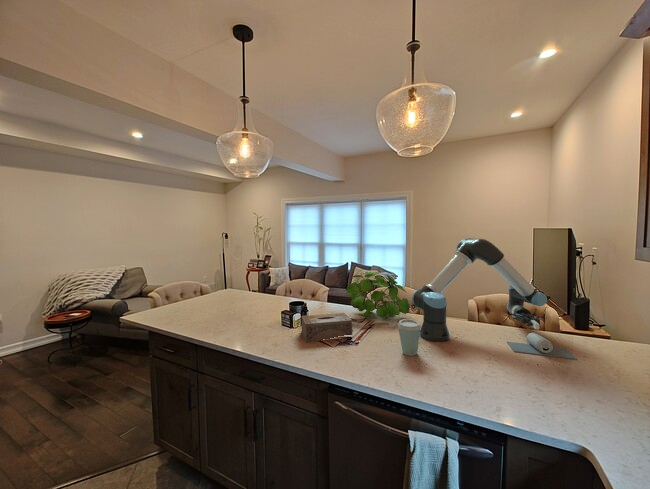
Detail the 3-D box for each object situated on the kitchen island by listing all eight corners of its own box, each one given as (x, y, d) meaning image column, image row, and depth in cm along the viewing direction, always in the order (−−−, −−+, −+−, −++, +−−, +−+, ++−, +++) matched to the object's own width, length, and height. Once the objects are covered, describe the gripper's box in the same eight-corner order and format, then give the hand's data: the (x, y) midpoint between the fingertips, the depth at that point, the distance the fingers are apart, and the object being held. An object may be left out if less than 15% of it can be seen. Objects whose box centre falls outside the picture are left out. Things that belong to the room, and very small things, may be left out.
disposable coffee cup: (422, 359, 122) (422, 326, 121) (398, 357, 124) (398, 324, 123) (419, 349, 132) (419, 319, 132) (396, 347, 134) (396, 317, 134)
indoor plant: (397, 296, 214) (406, 265, 199) (406, 337, 178) (419, 303, 163) (342, 289, 215) (348, 257, 200) (341, 329, 179) (347, 294, 164)
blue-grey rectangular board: (514, 351, 129) (514, 350, 129) (506, 342, 140) (506, 341, 140) (577, 359, 120) (577, 358, 120) (564, 349, 131) (564, 348, 131)
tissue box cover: (305, 342, 142) (305, 324, 141) (301, 332, 156) (301, 315, 155) (352, 338, 147) (352, 320, 147) (344, 329, 161) (344, 312, 161)
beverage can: (526, 344, 137) (538, 353, 126) (525, 331, 137) (537, 339, 126) (540, 344, 136) (554, 354, 124) (540, 332, 136) (553, 340, 124)
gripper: (534, 321, 153) (553, 335, 131) (507, 318, 157) (521, 332, 135) (535, 308, 152) (553, 320, 130) (508, 306, 157) (521, 317, 135)
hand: (537, 326), depth 133 cm, fingers closed
